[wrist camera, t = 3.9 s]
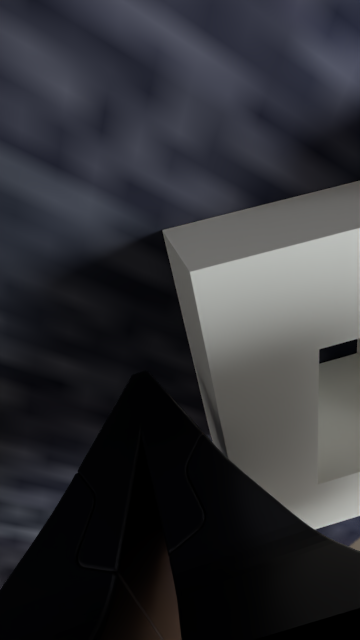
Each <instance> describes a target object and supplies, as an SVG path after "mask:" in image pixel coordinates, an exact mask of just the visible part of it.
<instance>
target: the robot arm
mask: <svg viewBox="0 0 360 640" xmlns="http://www.w3.org/2000/svg"><path fill="white" fill-rule="evenodd" d="M0 640H360V551H358V550H355V549H353V548H351V547H348V546H346V545H343V544H341V543H338V542H336V541H334V540H332V539H330V538H328V537H326V536H324V535H322V534H321V533H319V532H318V531H316V530H314V529H313V528H312V527H310V526H309V525H307V524H306V523H305V522H303V521H302V520H301V519H299V518H298V517H297V516H296V515H294V514H293V513H292V512H291V511H289V510H288V509H287V508H286V507H285V506H283V505H282V504H281V503H280V502H279V501H277V500H276V499H275V498H274V497H273V496H271V495H270V494H269V493H268V492H267V491H265V490H264V489H263V488H262V487H261V486H259V485H258V484H257V483H256V482H255V481H253V480H252V479H251V478H250V477H249V476H247V475H246V474H245V473H244V472H243V471H242V470H240V469H239V468H238V467H237V466H236V465H235V464H234V463H233V462H231V461H230V460H229V459H228V458H227V457H226V456H225V455H224V454H223V453H222V452H221V451H220V450H219V449H218V448H217V447H216V446H215V445H214V444H213V443H212V441H211V440H210V439H209V438H208V437H207V436H206V435H205V434H204V433H203V432H202V431H201V429H200V428H199V427H198V426H197V425H196V424H195V423H194V422H193V421H192V419H191V418H190V417H189V416H188V415H187V414H186V413H185V412H184V411H183V409H182V408H181V407H180V406H179V405H178V404H177V403H176V402H175V401H174V399H173V398H172V397H171V396H170V395H169V394H168V393H167V392H166V391H165V389H164V388H163V387H162V386H161V385H160V384H159V383H158V382H157V381H156V379H155V378H154V377H153V376H152V375H151V374H150V373H149V372H148V371H143V372H140V373H136V374H133V375H132V377H131V378H130V380H129V382H128V384H127V385H126V387H125V389H124V391H123V392H122V394H121V396H120V398H119V399H118V401H117V403H116V405H115V406H114V408H113V410H112V412H111V413H110V415H109V417H108V419H107V420H106V422H105V424H104V426H103V427H102V429H101V431H100V433H99V434H98V436H97V438H96V440H95V441H94V443H93V445H92V447H91V448H90V450H89V452H88V454H87V455H86V457H85V459H84V460H83V462H82V464H81V466H80V467H79V469H78V473H76V474H75V476H74V478H73V479H72V481H71V483H70V485H69V486H68V488H67V490H66V491H65V493H64V495H63V496H62V498H61V500H60V501H59V503H58V505H57V506H56V508H55V510H54V511H53V513H52V514H51V516H50V517H49V519H48V520H47V522H46V523H45V525H44V526H43V528H42V530H41V531H40V533H39V534H38V536H37V537H36V539H35V540H34V542H33V543H32V544H31V546H30V547H29V549H28V550H27V552H26V553H25V555H24V556H23V558H22V559H21V560H20V562H19V563H18V565H17V566H16V568H15V569H14V571H13V572H12V574H11V575H10V576H9V578H8V579H7V581H6V582H5V584H4V585H3V587H2V588H1V590H0Z"/></svg>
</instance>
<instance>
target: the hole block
mask: <svg viewBox="0 0 360 640" xmlns="http://www.w3.org/2000/svg"><path fill="white" fill-rule="evenodd" d="M162 232H163V236H164V240H165V245H166V249H167V253H168V257H169V261H170V266H171V270H172V274H173V278H174V283H175V287H176V291H177V295H178V300H179V304H180V308H181V312H182V317H183V321H184V325H185V329H186V333H187V338H188V342H189V346H190V350H191V355H192V359H193V363H194V367H195V372H196V376H197V380H198V384H199V389H200V393H201V397H202V401H203V405H204V410H205V414H206V418H207V422H208V427H209V431H210V435H211V438H212V441H213V444H214V445H215V446H216V447H217V448H218V449H219V450H220V451H221V452H222V453H223V454H224V455H225V456H226V457H227V458H228V459H229V460H230V461H231V462H233V463H234V464H235V465H236V466H237V467H238V468H239V469H240V470H242V471H243V472H244V473H245V474H246V475H247V476H249V477H250V478H251V479H252V480H253V481H255V482H256V483H257V484H258V485H259V486H261V487H262V488H263V489H264V490H265V491H267V492H268V493H269V494H270V495H271V496H273V497H274V498H275V499H276V500H277V501H279V502H280V503H281V504H282V505H283V506H285V507H286V508H287V509H288V510H289V511H291V512H292V513H293V514H294V515H296V516H297V517H298V518H299V519H301V520H302V521H303V522H305V523H306V524H307V525H309V526H310V527H312V528H313V529H314V530H315V529H318V528H321V527H325V526H328V525H331V524H334V523H338V522H341V521H344V520H347V519H351V518H354V517H357V516H360V181H356V182H352V183H348V184H344V185H340V186H336V187H332V188H328V189H324V190H320V191H316V192H312V193H308V194H304V195H300V196H296V197H292V198H288V199H284V200H280V201H276V202H272V203H268V204H264V205H260V206H256V207H252V208H248V209H244V210H240V211H236V212H232V213H228V214H224V215H220V216H216V217H212V218H208V219H204V220H200V221H196V222H192V223H188V224H184V225H180V226H176V227H172V228H168V229H165V230H162ZM355 339H358V341H357V353H356V354H352V355H349V356H345V357H342V358H338V359H334V360H331V361H327V362H324V363H320V364H319V349H322V348H326V347H330V346H333V345H337V344H340V343H344V342H348V341H351V340H355Z"/></svg>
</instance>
